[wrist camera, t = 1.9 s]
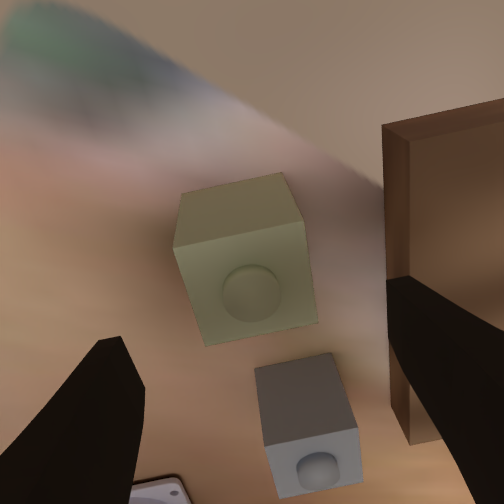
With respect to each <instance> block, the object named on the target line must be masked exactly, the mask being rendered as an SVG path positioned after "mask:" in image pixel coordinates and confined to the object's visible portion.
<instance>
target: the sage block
mask: <svg viewBox="0 0 504 504" xmlns="http://www.w3.org/2000/svg"><path fill="white" fill-rule="evenodd" d="M173 251H174V254H175V257H176V260H177V263H178V266H179V269H180V272H181V275H182V278H183V281H184V284H185V287H186V290H187V293H188V296H189V299H190V302H191V305H192V308H193V311H194V314H195V317H196V320H197V323H198V326H199V329H200V332H201V335H202V338H203V341H204V344H205V347H206V346H210V345H215V344H220V343H225V342H230V341H234V340H239V339H244V338H249V337H254V336H258V335H263V334H268V333H273V332H278V331H283V330H287V329H292V328H297V327H302V326H307V325H311V324H316V323H318V316H317V309H316V302H315V295H314V288H313V281H312V274H311V267H310V260H309V253H308V246H307V239H306V232H305V225H304V220H303V218H302V215H301V213H300V211H299V209H298V207H297V205H296V202H295V200H294V198H293V196H292V194H291V192H290V190H289V187H288V185H287V183H286V181H285V179H284V177H283V175H282V172H280V173H276V174H271V175H266V176H262V177H257V178H252V179H248V180H243V181H239V182H234V183H229V184H225V185H220V186H215V187H211V188H206V189H201V190H197V191H192V192H188V193H183V194H182V195H181V201H180V207H179V212H178V218H177V224H176V230H175V236H174V242H173Z"/></svg>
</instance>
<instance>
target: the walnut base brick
mask: <svg viewBox="0 0 504 504" xmlns="http://www.w3.org/2000/svg"><path fill="white" fill-rule="evenodd" d="M382 151H383V180H384V210H385V239H386V269H387V280H388V279H393V278H398V277H403V276H407V275H410V276H411V277H413V278H415V279H416V280H418V281H420V282H421V283H423V284H424V285H426V286H427V287H429V288H431V289H432V290H434V291H435V292H437V293H439V294H440V295H442V296H443V297H445V298H447V299H448V300H450V301H452V302H453V303H455V304H456V305H458V306H460V307H461V308H463V309H465V310H467V311H468V312H470V313H472V314H473V315H475V316H477V317H479V318H480V319H482V320H484V321H486V322H488V323H489V324H491V325H493V326H495V327H497V328H499V329H501V330H503V331H504V98H502V99H498V100H493V101H488V102H484V103H479V104H475V105H470V106H466V107H461V108H457V109H453V110H447V111H443V112H438V113H434V114H429V115H424V116H420V117H416V118H411V119H406V120H401V121H397V122H392V123H389V124H383V125H382ZM389 357H390V386H391V407H392V409H393V411H394V413H395V415H396V418H397V420H398V422H399V424H400V426H401V428H402V430H403V432H404V435H405V437H406V439H407V441H408V443H409V445H410V446H411V445H415V444H420V443H425V442H430V441H435V440H440V439H442V437H441V435H440V434H439V432H438V430H437V429H436V427H435V425H434V424H433V422H432V420H431V418H430V417H429V415H428V413H427V412H426V410H425V408H424V407H423V405H422V403H421V402H420V400H419V398H418V397H417V395H416V393H415V392H414V390H413V388H412V386H411V385H410V383H409V381H408V380H407V378H406V376H405V374H404V373H403V371H402V369H401V367H400V364H399V362H398V360H397V358H396V355H395V353H394V351H393V348H392V346H391V344H390V341H389Z"/></svg>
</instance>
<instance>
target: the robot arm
mask: <svg viewBox="0 0 504 504" xmlns="http://www.w3.org/2000/svg"><path fill="white" fill-rule="evenodd" d="M386 291H387V321H388V339H389V341H390V344H391V346H392V348H393V351H394V353H395V355H396V358H397V360H398V362H399V364H400V367H401V369H402V371H403V373H404V374H405V376H406V378H407V380H408V381H409V383H410V385H411V386H412V388H413V390H414V392H415V393H416V395H417V397H418V398H419V400H420V402H421V403H422V405H423V407H424V408H425V410H426V412H427V413H428V415H429V417H430V418H431V420H432V422H433V424H434V425H435V427H436V429H437V430H438V432H439V434H440V435H441V437H442V439H443V440H444V442H445V444H446V445H447V447H448V449H449V451H450V452H451V454H452V456H453V458H454V460H455V462H456V464H457V465H458V467H459V470H460V472H461V474H462V476H463V478H464V480H465V482H466V484H467V486H468V488H469V491H470V493H471V495H472V497H473V499H474V501H475V503H476V504H504V331H503V330H501V329H499V328H497V327H495V326H493V325H491V324H489V323H488V322H486V321H484V320H482V319H480V318H479V317H477V316H475V315H473V314H472V313H470V312H468V311H467V310H465V309H463V308H461V307H460V306H458V305H456V304H455V303H453V302H452V301H450V300H448V299H447V298H445V297H443V296H442V295H440V294H439V293H437V292H435V291H434V290H432V289H431V288H429V287H427V286H426V285H424V284H423V283H421V282H420V281H418V280H416V279H415V278H413V277H411V276H410V275H407V276H403V277H398V278H393V279H388V280H386ZM144 407H145V387H144V384H143V382H142V380H141V378H140V376H139V374H138V372H137V370H136V367H135V365H134V363H133V361H132V359H131V357H130V355H129V353H128V350H127V348H126V346H125V344H124V342H123V340H122V338H121V336H117V337H112V338H108V339H103V340H98V342H97V343H96V344H95V345H94V346H93V347H92V349H91V350H90V351H89V352H88V353H87V355H86V356H85V357H84V358H83V360H82V361H81V362H80V363H79V365H78V366H77V367H76V368H75V370H74V371H73V372H72V373H71V375H70V376H69V377H68V378H67V380H66V381H65V382H64V383H63V385H62V386H61V387H60V388H59V389H58V391H57V392H56V393H55V394H54V396H53V397H52V398H51V399H50V400H49V402H48V403H47V404H46V405H45V406H44V408H43V409H42V410H41V411H40V412H39V413H38V414H37V415H36V417H35V418H34V419H33V420H32V421H31V422H30V423H29V425H28V426H27V427H26V428H25V429H24V430H23V431H22V433H21V434H20V435H19V436H18V437H17V438H16V439H15V440H14V441H13V443H12V444H11V445H10V446H9V447H8V448H7V449H6V450H5V451H4V452H3V453H2V454H1V455H0V504H191V502H190V500H189V498H188V496H187V494H186V492H185V490H184V487H183V485H182V483H181V481H180V480H179V479H177V478H174V477H172V478H166V479H161V480H156V481H151V482H147V483H142V484H137V485H132V484H133V478H134V473H135V468H136V462H137V457H138V452H139V446H140V441H141V435H142V429H143V422H144Z"/></svg>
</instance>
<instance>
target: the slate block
mask: <svg viewBox="0 0 504 504" xmlns="http://www.w3.org/2000/svg"><path fill="white" fill-rule="evenodd" d="M254 370H255V378H256V386H257V394H258V401H259V409H260V417H261V425H262V433H263V440H264V447H265V451H266V454H267V458H268V461H269V465H270V468H271V472H272V475H273V479H274V482H275V486H276V489H277V493H278V496H279V499H282V498H287V497H292V496H297V495H302V494H307V493H312V492H317V491H322V490H327V489H332V488H336V487H341V486H346V485H351V484H356V483H361V482H363V472H362V462H361V452H360V441H359V431H358V426H357V423H356V420H355V417H354V415H353V412H352V409H351V407H350V404H349V401H348V398H347V396H346V393H345V390H344V387H343V385H342V382H341V379H340V376H339V374H338V371H337V368H336V365H335V363H334V360H333V357H332V354H331V353H327V354H322V355H317V356H312V357H308V358H303V359H298V360H293V361H289V362H284V363H279V364H274V365H269V366H265V367H260V368H255V369H254Z"/></svg>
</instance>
